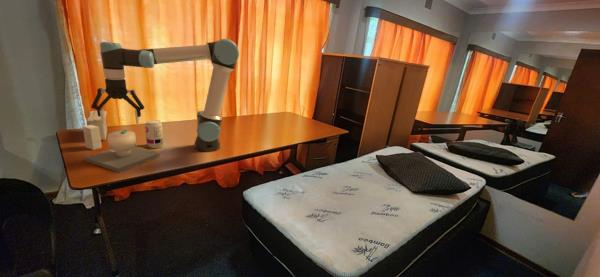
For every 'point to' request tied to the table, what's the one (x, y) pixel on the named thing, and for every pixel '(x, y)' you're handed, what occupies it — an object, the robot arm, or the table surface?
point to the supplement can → (154, 133)
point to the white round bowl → (121, 140)
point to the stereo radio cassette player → (98, 123)
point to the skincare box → (92, 137)
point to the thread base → (121, 158)
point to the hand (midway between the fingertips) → (121, 123)
